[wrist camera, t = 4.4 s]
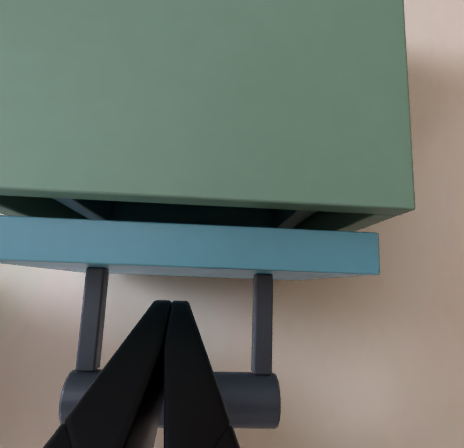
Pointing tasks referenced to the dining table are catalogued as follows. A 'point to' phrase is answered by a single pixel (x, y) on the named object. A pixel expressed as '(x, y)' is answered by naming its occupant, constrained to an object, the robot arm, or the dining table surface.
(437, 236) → the dining table surface
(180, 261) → the compartment
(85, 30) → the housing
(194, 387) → the robot arm
